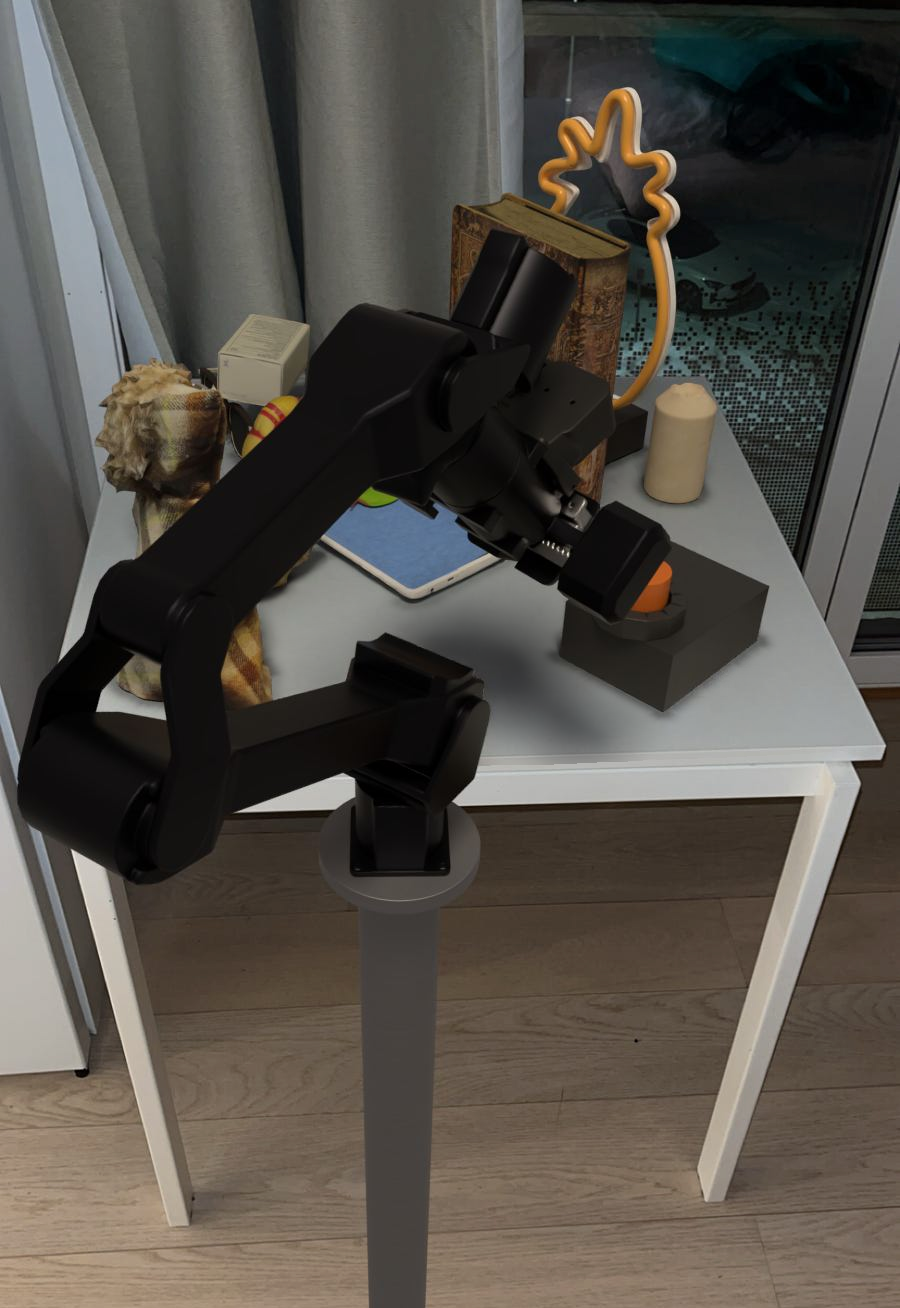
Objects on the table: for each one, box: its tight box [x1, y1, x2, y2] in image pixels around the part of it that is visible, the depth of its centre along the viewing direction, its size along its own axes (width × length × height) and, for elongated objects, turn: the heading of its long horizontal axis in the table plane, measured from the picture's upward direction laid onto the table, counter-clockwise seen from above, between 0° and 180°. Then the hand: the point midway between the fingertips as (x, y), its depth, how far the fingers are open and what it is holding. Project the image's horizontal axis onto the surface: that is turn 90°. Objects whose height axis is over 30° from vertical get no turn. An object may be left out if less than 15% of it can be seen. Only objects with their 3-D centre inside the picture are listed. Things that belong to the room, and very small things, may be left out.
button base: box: [559, 540, 770, 713], centre depth 100 cm, size 14×10×7 cm
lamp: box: [537, 86, 681, 465], centre depth 117 cm, size 17×9×32 cm, turn 42°
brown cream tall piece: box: [93, 357, 274, 712], centre depth 91 cm, size 14×14×25 cm
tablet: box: [320, 499, 501, 600], centre depth 113 cm, size 19×13×1 cm, turn 43°
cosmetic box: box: [216, 313, 311, 407], centre depth 123 cm, size 6×4×12 cm
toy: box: [241, 395, 302, 459], centre depth 114 cm, size 9×11×10 cm
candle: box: [643, 382, 718, 504], centre depth 118 cm, size 6×6×10 cm
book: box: [448, 192, 632, 506], centre depth 110 cm, size 16×6×25 cm, turn 39°
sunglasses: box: [197, 361, 308, 459], centre depth 127 cm, size 14×16×5 cm
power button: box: [631, 561, 672, 612], centre depth 95 cm, size 4×4×2 cm
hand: (571, 563), depth 86 cm, fingers closed
